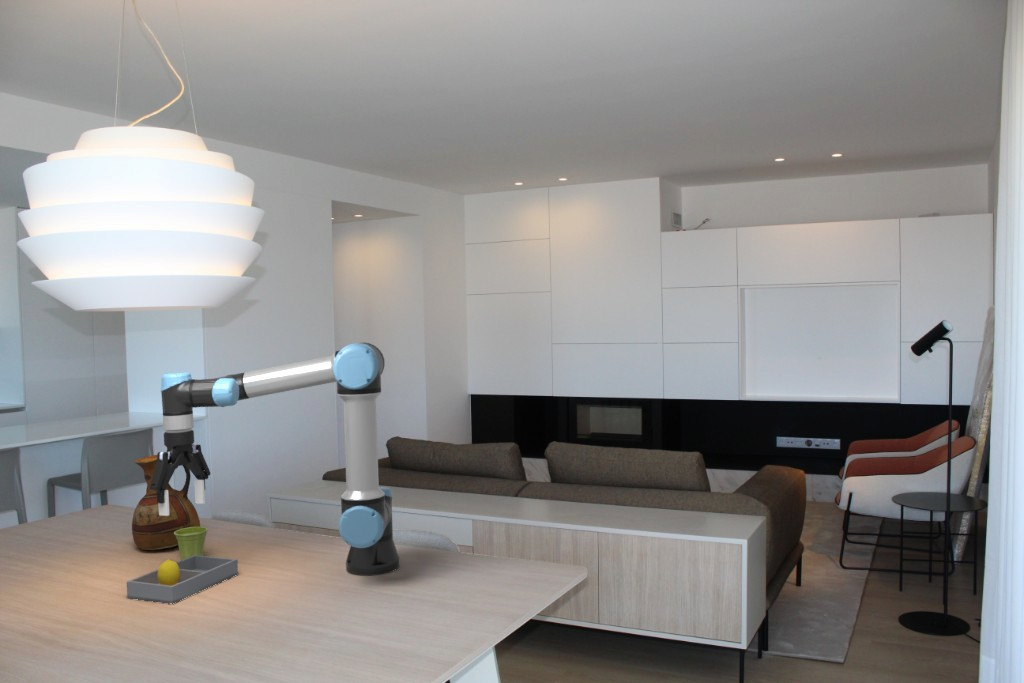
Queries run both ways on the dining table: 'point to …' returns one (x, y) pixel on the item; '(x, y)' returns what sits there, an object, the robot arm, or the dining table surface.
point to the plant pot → (191, 541)
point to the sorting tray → (183, 579)
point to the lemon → (168, 573)
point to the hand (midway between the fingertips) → (182, 509)
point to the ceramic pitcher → (157, 528)
